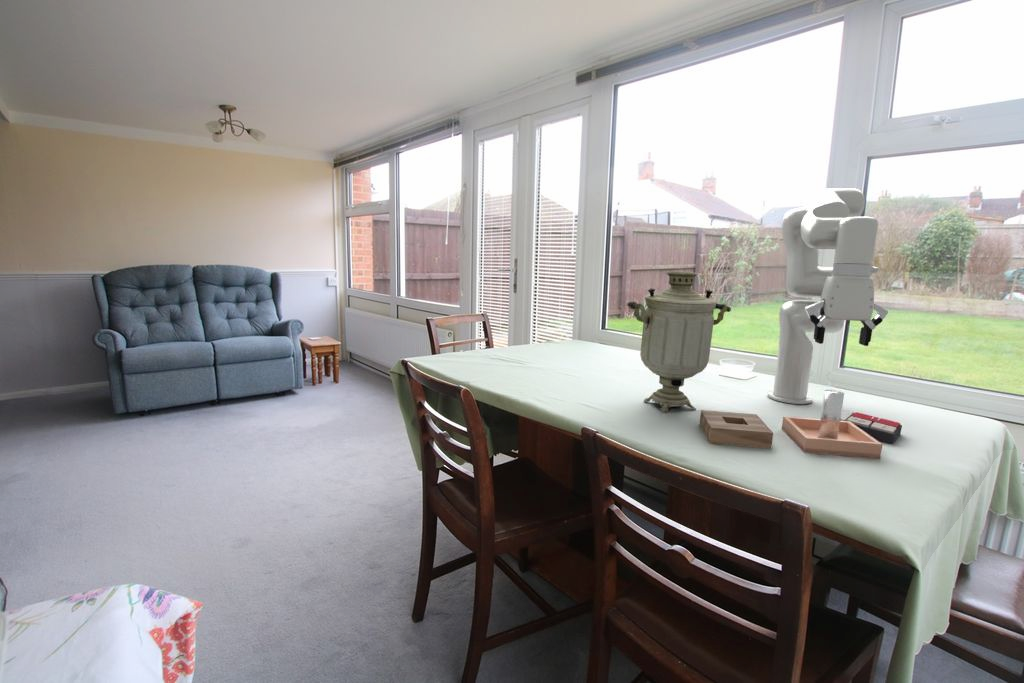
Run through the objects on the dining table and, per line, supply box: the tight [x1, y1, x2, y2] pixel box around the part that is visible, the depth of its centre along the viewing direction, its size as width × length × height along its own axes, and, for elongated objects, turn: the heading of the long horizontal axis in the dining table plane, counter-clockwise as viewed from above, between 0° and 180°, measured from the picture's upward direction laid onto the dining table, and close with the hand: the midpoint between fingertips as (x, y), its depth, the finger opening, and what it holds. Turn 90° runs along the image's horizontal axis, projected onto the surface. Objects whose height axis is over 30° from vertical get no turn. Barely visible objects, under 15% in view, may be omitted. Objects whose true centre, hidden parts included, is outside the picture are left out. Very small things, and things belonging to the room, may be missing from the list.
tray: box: [781, 415, 883, 460], centre depth 124 cm, size 16×16×4 cm
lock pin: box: [818, 389, 845, 439], centre depth 123 cm, size 4×4×12 cm
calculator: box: [840, 408, 903, 445], centre depth 132 cm, size 11×4×15 cm
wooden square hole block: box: [699, 409, 774, 450], centre depth 127 cm, size 14×14×4 cm
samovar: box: [626, 271, 732, 414], centre depth 150 cm, size 30×26×40 cm
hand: (840, 343), depth 120 cm, fingers open, 9 cm apart
